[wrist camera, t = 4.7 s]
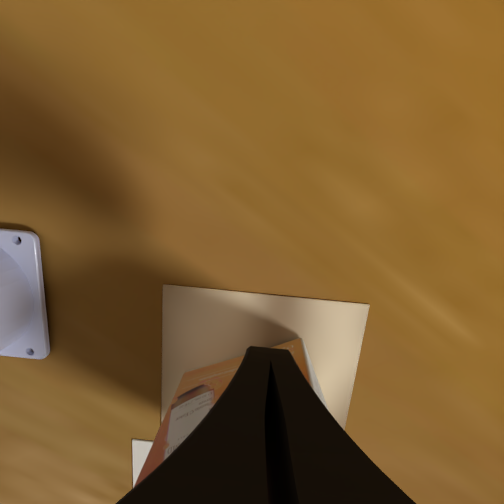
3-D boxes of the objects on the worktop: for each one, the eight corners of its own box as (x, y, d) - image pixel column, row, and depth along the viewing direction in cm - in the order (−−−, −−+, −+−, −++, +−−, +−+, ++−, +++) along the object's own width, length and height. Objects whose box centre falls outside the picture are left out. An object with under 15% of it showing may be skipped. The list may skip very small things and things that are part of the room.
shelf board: (162, 433, 19) (161, 437, 19) (164, 283, 17) (162, 284, 16) (337, 452, 19) (338, 456, 19) (367, 302, 16) (369, 304, 16)
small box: (302, 334, 17) (361, 569, 7) (329, 409, 18) (415, 709, 8) (180, 370, 18) (65, 625, 8) (213, 439, 19) (152, 741, 9)
